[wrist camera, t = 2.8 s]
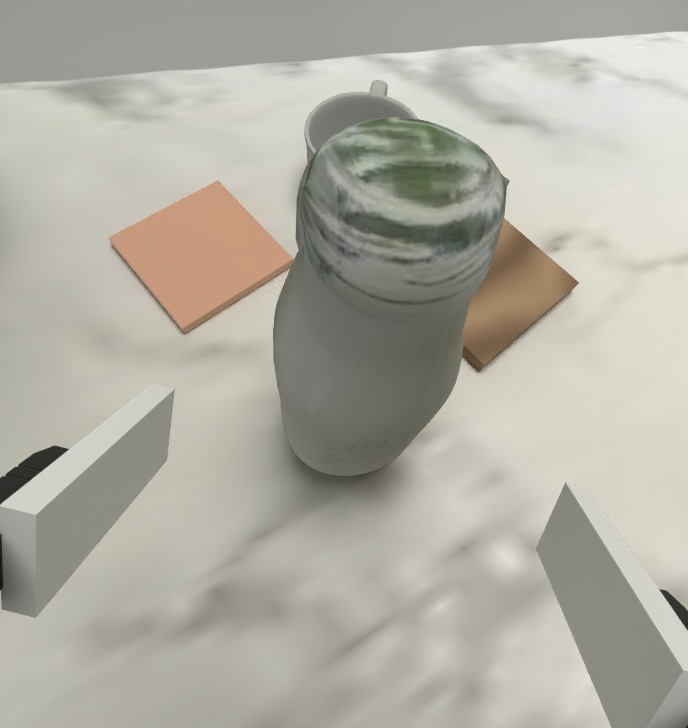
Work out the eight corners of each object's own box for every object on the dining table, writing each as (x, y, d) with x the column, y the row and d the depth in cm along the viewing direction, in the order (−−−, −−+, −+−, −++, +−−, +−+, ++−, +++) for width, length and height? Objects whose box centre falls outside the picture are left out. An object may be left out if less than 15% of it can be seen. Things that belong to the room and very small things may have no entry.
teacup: (383, 249, 48) (399, 190, 41) (285, 209, 49) (284, 144, 42) (429, 159, 54) (450, 93, 47) (340, 125, 55) (347, 55, 48)
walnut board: (373, 268, 47) (376, 259, 46) (469, 203, 52) (474, 192, 50) (478, 371, 43) (484, 365, 42) (571, 291, 48) (579, 282, 47)
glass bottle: (380, 361, 43) (506, 38, 17) (414, 474, 39) (639, 269, 14) (269, 382, 41) (230, 54, 16) (293, 503, 37) (291, 327, 12)
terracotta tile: (111, 244, 45) (108, 237, 44) (219, 187, 49) (217, 180, 48) (184, 334, 42) (182, 328, 41) (293, 265, 46) (293, 259, 45)
